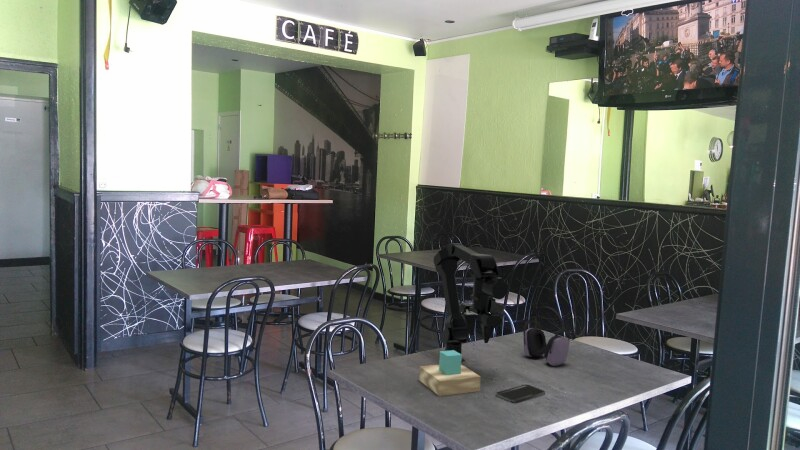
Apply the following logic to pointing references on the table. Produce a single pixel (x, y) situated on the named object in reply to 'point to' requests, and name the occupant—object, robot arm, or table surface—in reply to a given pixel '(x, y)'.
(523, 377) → the table surface
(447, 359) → the teal cube
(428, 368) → the oak box
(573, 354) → the table surface
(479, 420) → the table surface
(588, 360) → the table surface
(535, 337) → the headphones
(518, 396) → the phone
